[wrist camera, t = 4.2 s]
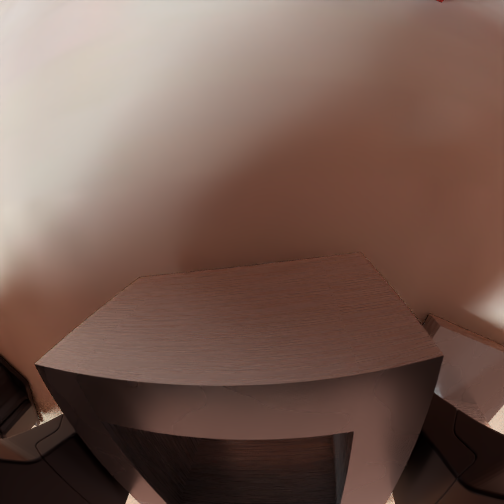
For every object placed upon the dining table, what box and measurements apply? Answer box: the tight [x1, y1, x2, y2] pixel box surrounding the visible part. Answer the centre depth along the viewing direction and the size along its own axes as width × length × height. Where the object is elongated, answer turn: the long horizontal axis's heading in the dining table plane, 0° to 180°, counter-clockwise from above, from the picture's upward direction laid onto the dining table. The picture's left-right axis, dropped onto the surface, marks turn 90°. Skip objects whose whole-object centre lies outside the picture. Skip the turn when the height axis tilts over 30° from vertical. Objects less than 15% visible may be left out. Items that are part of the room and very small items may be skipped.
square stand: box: [422, 314, 504, 428], centre depth 8 cm, size 9×9×5 cm
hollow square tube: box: [35, 252, 444, 504], centre depth 7 cm, size 7×7×5 cm
